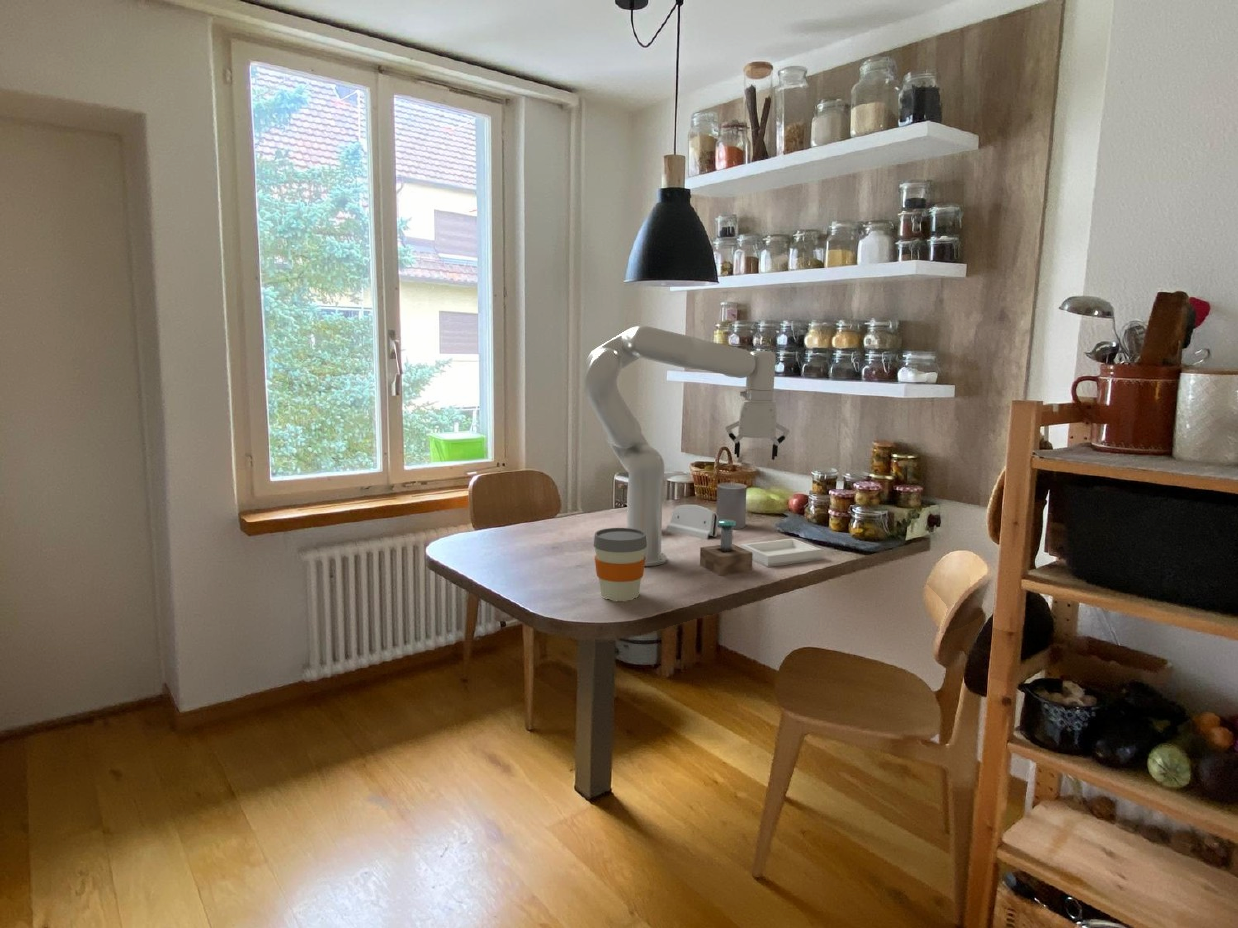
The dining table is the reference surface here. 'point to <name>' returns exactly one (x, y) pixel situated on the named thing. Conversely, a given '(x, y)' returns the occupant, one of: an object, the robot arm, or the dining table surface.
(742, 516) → the pillar candle
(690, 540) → the dining table surface
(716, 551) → the socket block
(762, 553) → the tray
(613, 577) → the reusable coffee cup
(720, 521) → the steel pin
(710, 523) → the hinge
